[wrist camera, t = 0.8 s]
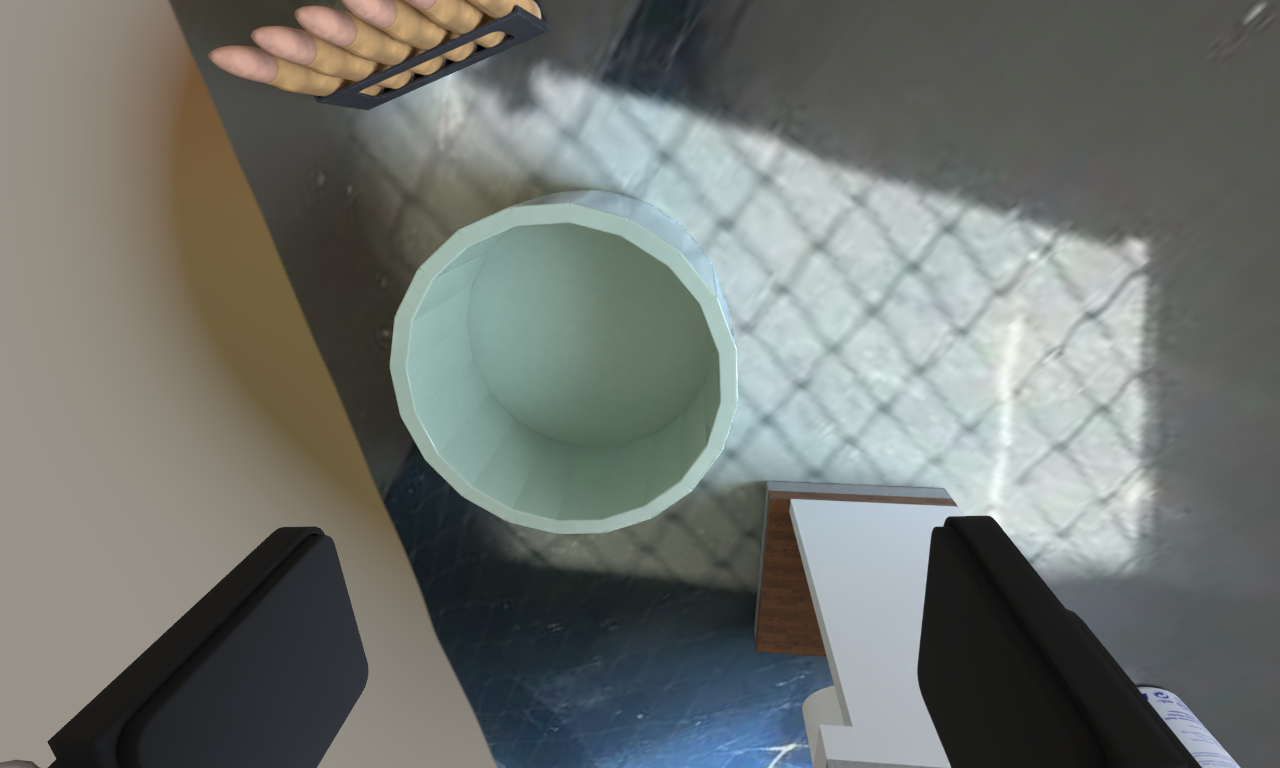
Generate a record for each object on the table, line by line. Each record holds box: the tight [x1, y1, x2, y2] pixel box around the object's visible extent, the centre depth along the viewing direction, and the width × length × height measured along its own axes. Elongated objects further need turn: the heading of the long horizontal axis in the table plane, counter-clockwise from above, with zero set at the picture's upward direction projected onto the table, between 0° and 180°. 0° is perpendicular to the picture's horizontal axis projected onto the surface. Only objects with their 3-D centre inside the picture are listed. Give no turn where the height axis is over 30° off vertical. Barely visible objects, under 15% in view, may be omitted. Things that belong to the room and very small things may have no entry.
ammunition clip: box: [208, 0, 549, 110], centre depth 27 cm, size 11×2×12 cm, turn 110°
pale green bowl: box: [390, 190, 738, 534], centre depth 33 cm, size 16×16×9 cm
